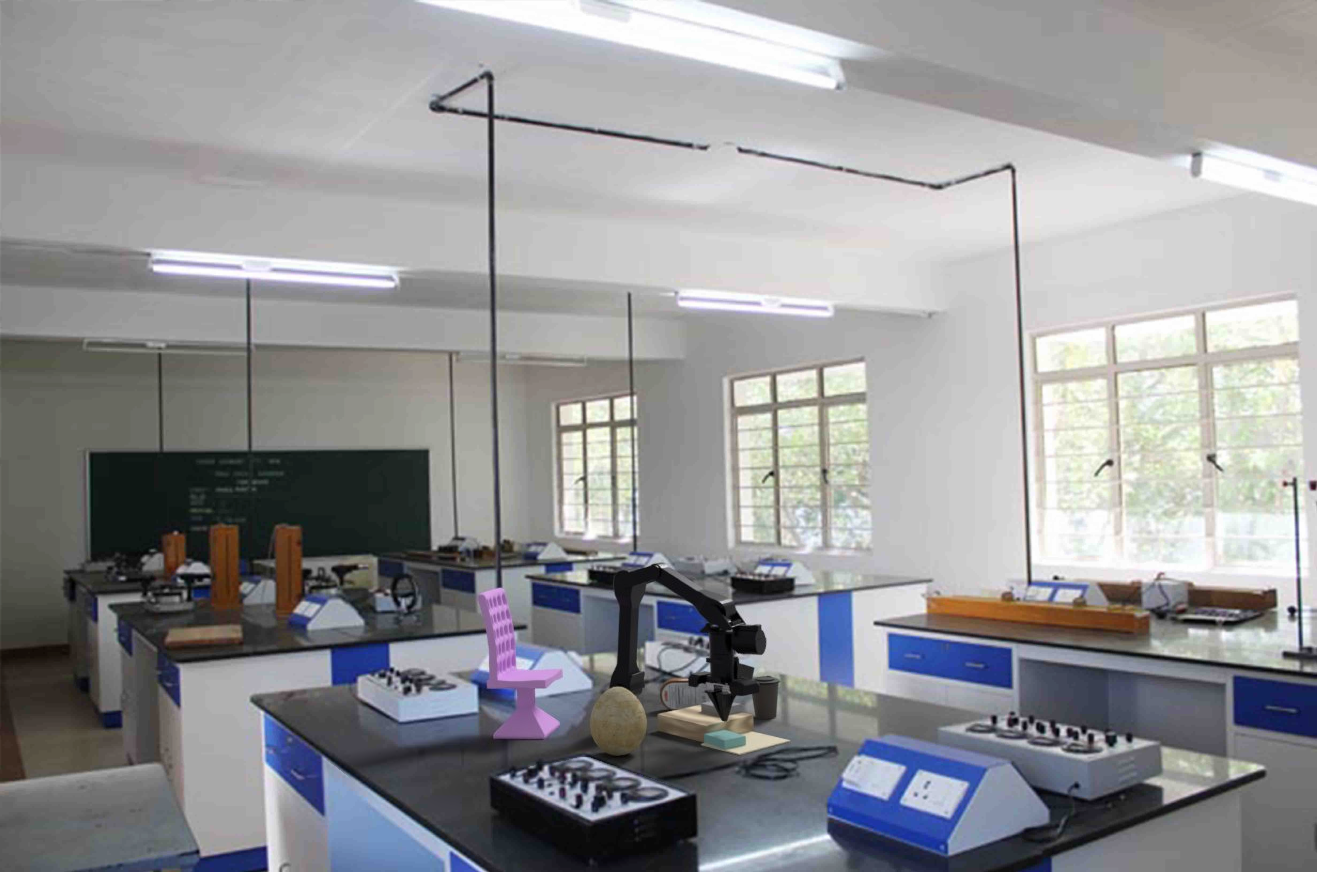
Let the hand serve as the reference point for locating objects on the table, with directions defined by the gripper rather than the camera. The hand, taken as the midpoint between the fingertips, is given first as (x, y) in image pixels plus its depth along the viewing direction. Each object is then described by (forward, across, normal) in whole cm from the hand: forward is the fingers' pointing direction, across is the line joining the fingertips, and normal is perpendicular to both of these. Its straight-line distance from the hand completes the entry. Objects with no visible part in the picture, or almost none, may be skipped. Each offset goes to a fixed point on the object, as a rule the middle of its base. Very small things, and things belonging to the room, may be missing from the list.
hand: (724, 720), depth 239 cm
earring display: (+5, +45, +27) cm, 53 cm away
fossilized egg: (+5, +10, +23) cm, 26 cm away
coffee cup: (+5, +12, -25) cm, 28 cm away
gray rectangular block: (+1, +11, -9) cm, 14 cm away
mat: (+5, -4, -3) cm, 7 cm away
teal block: (+5, -1, +1) cm, 5 cm away
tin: (+5, +33, -17) cm, 37 cm away
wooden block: (+5, +12, -4) cm, 14 cm away
